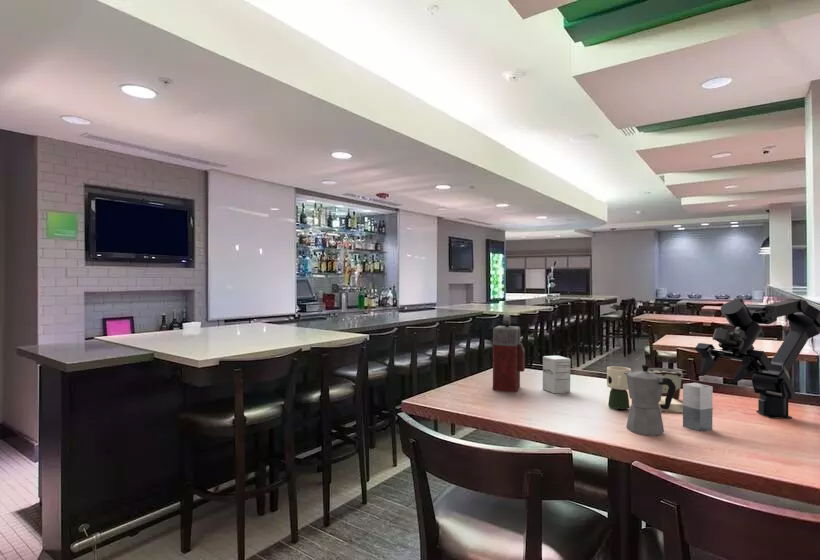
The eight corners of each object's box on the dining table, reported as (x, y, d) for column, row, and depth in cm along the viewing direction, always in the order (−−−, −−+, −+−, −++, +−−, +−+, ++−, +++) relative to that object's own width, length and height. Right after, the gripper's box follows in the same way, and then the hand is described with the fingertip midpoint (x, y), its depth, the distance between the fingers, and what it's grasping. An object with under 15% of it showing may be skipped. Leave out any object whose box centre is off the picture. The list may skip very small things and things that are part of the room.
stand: (669, 404, 153) (669, 396, 153) (684, 412, 143) (684, 404, 143) (638, 403, 154) (638, 395, 154) (650, 411, 144) (650, 403, 144)
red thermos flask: (523, 392, 167) (523, 316, 167) (492, 390, 171) (493, 315, 171) (526, 387, 175) (526, 314, 176) (496, 385, 179) (497, 313, 180)
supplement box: (541, 389, 173) (542, 355, 173) (558, 388, 175) (558, 355, 175) (553, 393, 166) (553, 359, 166) (570, 392, 168) (571, 358, 168)
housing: (695, 424, 131) (695, 382, 131) (712, 429, 126) (712, 386, 126) (682, 426, 129) (683, 383, 129) (699, 432, 124) (700, 387, 124)
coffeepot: (612, 425, 129) (613, 361, 129) (636, 421, 133) (637, 359, 133) (662, 443, 115) (662, 371, 115) (687, 438, 119) (687, 369, 119)
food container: (675, 396, 164) (675, 368, 164) (683, 400, 158) (683, 371, 158) (639, 394, 166) (639, 367, 166) (646, 399, 159) (646, 370, 160)
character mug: (606, 403, 153) (606, 364, 154) (629, 405, 151) (629, 366, 151) (607, 411, 143) (607, 370, 143) (632, 414, 141) (633, 372, 141)
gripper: (699, 316, 142) (673, 354, 137) (765, 321, 124) (738, 364, 120) (716, 341, 144) (691, 378, 140) (783, 349, 127) (757, 392, 123)
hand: (717, 378), depth 131 cm, fingers open, 9 cm apart
